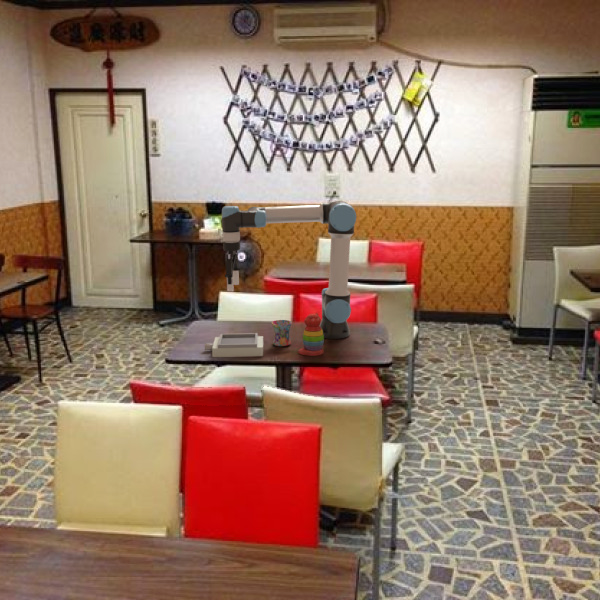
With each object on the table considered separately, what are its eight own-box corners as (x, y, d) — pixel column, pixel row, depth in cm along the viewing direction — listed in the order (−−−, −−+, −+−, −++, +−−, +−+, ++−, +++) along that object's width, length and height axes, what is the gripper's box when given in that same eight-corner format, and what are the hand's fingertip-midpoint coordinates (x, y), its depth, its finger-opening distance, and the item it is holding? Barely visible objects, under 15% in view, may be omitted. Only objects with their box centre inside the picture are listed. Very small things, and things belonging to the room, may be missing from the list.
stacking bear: (311, 347, 304) (311, 309, 299) (329, 351, 297) (329, 313, 293) (296, 353, 296) (295, 314, 291) (314, 357, 289) (314, 318, 285)
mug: (288, 348, 303) (288, 325, 300) (269, 346, 305) (268, 324, 303) (296, 340, 314) (295, 319, 311) (277, 339, 316) (276, 317, 314)
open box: (263, 344, 309) (263, 333, 307) (263, 356, 292) (262, 344, 291) (206, 345, 308) (206, 334, 306) (203, 357, 291) (202, 345, 290)
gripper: (228, 237, 309) (230, 282, 314) (217, 245, 285) (219, 294, 290) (244, 237, 309) (246, 282, 314) (234, 245, 285) (236, 294, 290)
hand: (233, 288), depth 302 cm, fingers open, 13 cm apart
